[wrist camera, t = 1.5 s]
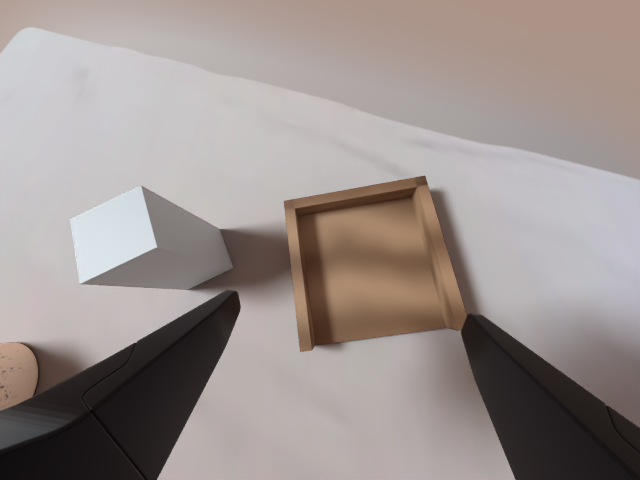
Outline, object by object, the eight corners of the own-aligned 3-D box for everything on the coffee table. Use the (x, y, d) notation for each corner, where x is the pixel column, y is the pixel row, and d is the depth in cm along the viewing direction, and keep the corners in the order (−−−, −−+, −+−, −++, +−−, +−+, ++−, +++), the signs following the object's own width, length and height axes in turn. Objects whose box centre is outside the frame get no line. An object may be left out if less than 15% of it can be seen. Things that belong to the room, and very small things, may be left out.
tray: (453, 325, 21) (470, 329, 18) (306, 344, 22) (300, 351, 19) (415, 189, 25) (425, 175, 22) (290, 212, 26) (283, 201, 23)
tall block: (233, 267, 25) (156, 247, 15) (187, 289, 25) (79, 283, 15) (219, 228, 26) (140, 185, 16) (176, 249, 26) (70, 219, 16)
